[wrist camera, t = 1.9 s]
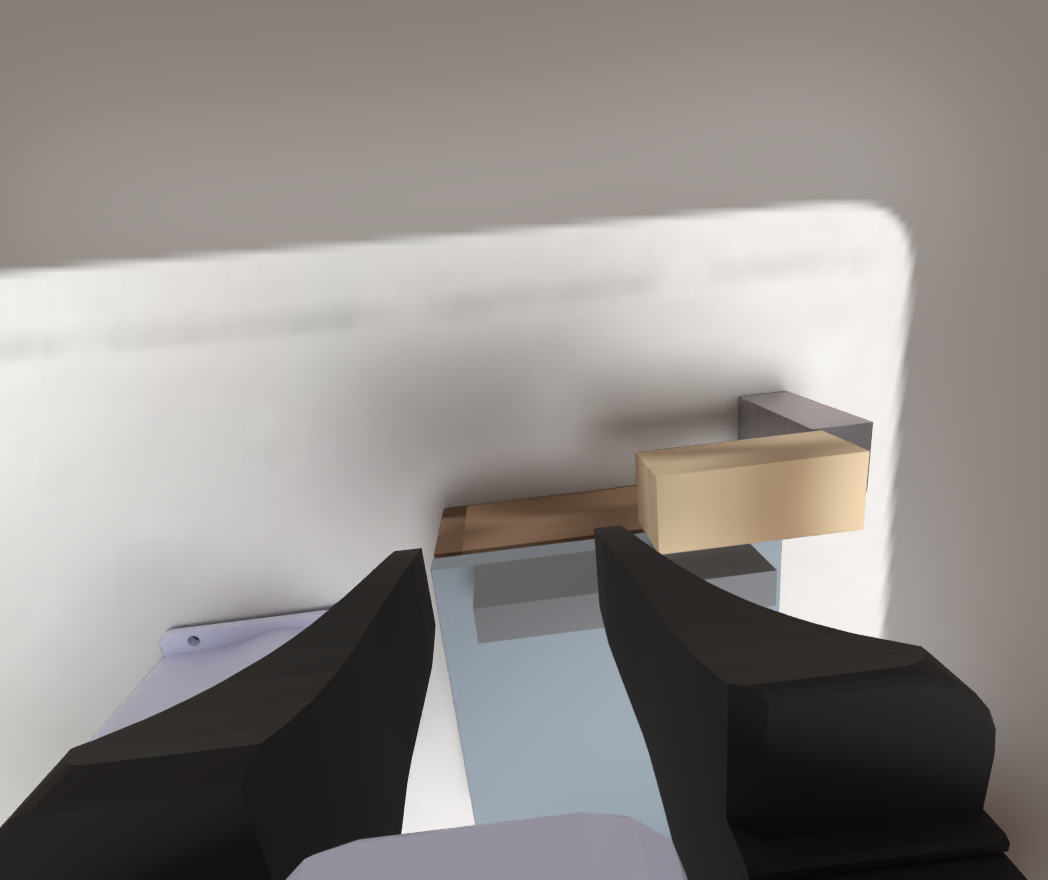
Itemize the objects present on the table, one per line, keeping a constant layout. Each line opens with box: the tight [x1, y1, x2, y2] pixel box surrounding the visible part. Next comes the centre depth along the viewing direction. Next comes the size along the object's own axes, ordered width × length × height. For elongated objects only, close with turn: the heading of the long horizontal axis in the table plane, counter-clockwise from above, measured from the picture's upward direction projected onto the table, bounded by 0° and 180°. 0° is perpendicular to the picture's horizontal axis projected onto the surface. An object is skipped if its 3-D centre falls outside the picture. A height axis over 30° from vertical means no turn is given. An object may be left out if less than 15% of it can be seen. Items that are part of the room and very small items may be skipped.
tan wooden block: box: [635, 430, 870, 554], centre depth 16 cm, size 6×2×2 cm, turn 96°
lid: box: [431, 533, 782, 841], centre depth 19 cm, size 12×16×4 cm
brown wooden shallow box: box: [434, 486, 645, 558], centre depth 23 cm, size 12×16×4 cm
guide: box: [739, 391, 873, 491], centre depth 20 cm, size 2×2×5 cm
